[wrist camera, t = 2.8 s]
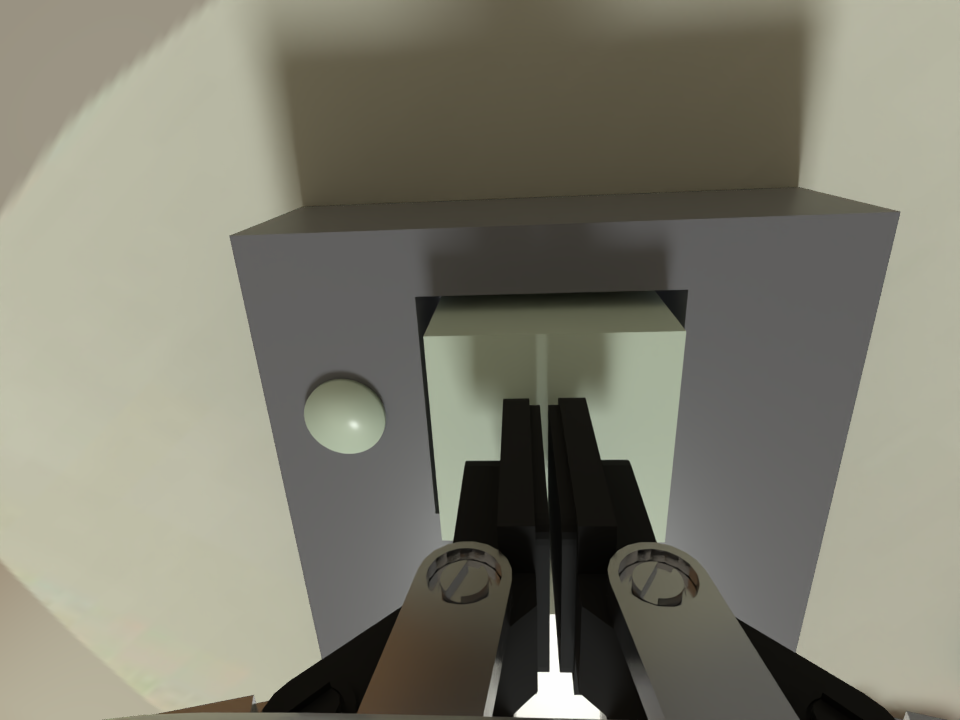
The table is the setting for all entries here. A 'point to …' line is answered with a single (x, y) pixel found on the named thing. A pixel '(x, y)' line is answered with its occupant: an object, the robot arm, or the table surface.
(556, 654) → the cream key
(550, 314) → the sage key
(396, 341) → the key console
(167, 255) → the table surface
